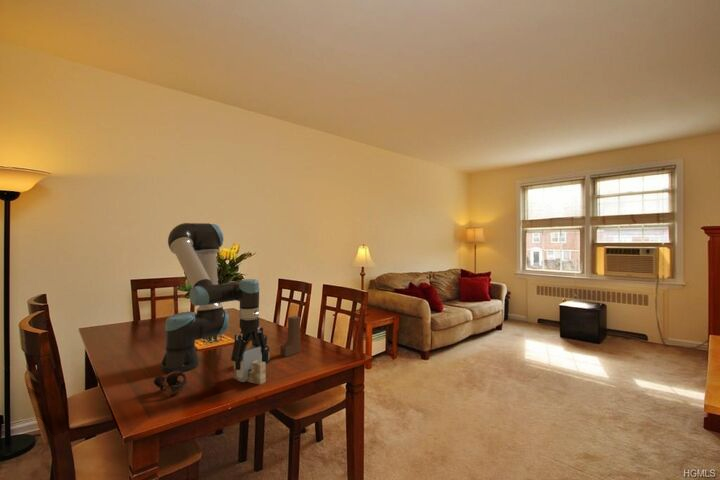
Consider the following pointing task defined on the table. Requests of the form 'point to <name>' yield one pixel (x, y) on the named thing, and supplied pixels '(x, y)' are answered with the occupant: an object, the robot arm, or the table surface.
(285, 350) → the wooden block
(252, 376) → the slotted board
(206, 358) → the table surface
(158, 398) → the table surface
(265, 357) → the ink bottle
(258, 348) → the slotted plate
